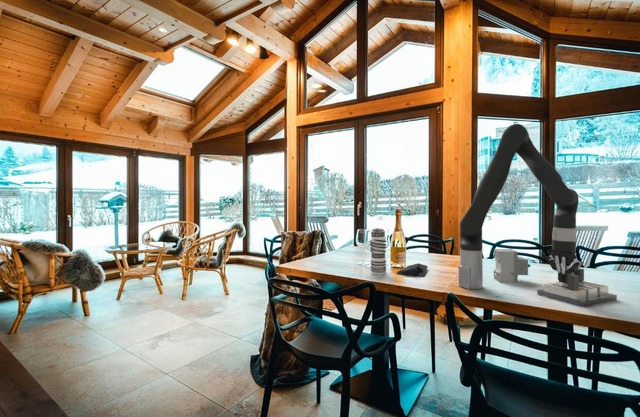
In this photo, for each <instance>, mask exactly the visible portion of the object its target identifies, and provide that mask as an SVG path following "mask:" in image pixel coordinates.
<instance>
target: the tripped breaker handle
mask: <svg viewBox="0 0 640 417" xmlns="http://www.w3.org/2000/svg"><path fill="white" fill-rule="evenodd" d="M567 288H570V289H579V276H578V275H573V274H571V275H567Z"/></svg>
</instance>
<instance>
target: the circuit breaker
mask: <svg viewBox="0 0 640 417" xmlns="http://www.w3.org/2000/svg"><path fill="white" fill-rule="evenodd" d="M493 250H494V251H493V258H494V260H495V268H494V269H493V279H494V280H495V281H497V282H498V283H506V284H507V283H512V284H513V283H514V284H516V283H517V284H518V283H519V278H518V276H529V268H531V265H530V264H529V259H528V258H525V257H523V256H518V255H519V254H518V251H517V250H514V249H512V248H496V249H495V248H494V249H493Z"/></svg>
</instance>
